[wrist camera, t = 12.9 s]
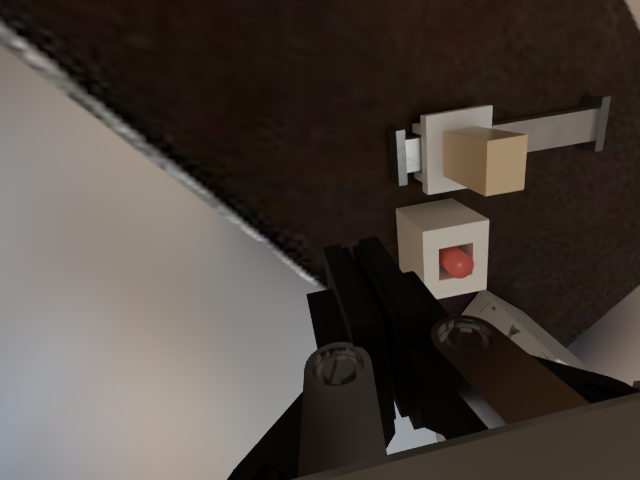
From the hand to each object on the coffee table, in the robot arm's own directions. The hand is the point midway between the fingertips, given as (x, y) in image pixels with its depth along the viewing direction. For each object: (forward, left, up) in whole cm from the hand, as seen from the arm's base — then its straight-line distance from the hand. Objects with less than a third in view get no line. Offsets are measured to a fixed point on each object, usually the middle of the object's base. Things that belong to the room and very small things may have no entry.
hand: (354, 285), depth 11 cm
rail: (+1, +19, -25) cm, 32 cm away
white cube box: (+10, +12, -25) cm, 30 cm away
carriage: (+1, +14, -25) cm, 29 cm away
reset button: (+10, +12, -22) cm, 28 cm away
